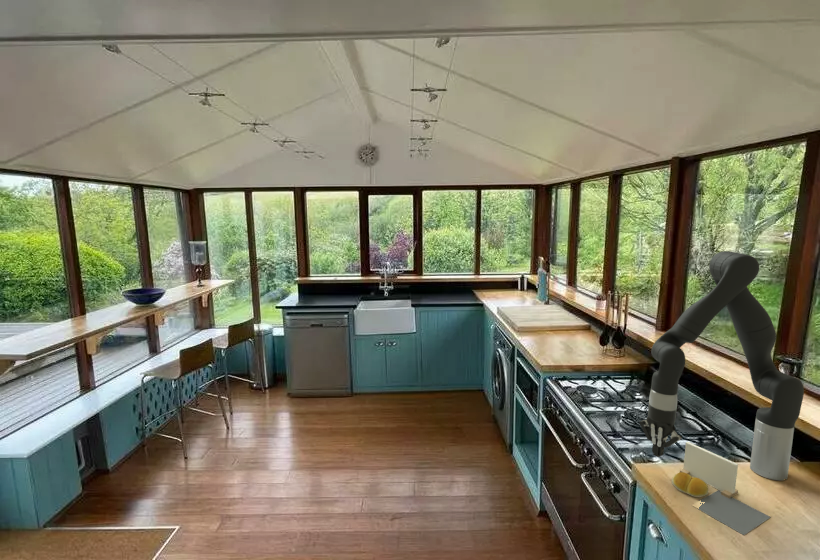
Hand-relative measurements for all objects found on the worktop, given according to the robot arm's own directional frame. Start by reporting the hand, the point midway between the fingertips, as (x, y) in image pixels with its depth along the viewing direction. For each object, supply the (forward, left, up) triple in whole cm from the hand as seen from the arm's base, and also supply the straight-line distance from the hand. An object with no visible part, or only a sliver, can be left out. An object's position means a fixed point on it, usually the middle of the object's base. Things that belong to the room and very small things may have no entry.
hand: (657, 455), depth 135 cm
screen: (-8, +11, -6) cm, 15 cm away
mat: (0, +21, -6) cm, 22 cm away
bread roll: (0, +10, -6) cm, 12 cm away
